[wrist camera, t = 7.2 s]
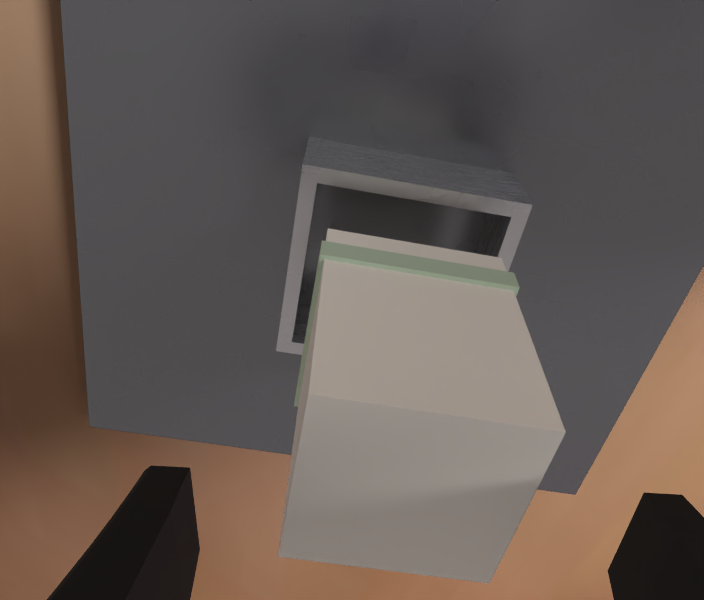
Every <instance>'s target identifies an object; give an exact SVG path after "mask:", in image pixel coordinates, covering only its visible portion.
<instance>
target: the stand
mask: <svg viewBox="0 0 704 600" xmlns="http://www.w3.org/2000/svg"><path fill="white" fill-rule="evenodd" d="M60 4H61V19H62V34H63V48H64V63H65V78H66V92H67V107H68V122H69V137H70V151H71V166H72V181H73V195H74V210H75V225H76V239H77V254H78V269H79V283H80V298H81V313H82V327H83V342H84V357H85V372H86V386H87V401H88V416H89V427H96V428H104V429H111V430H118V431H125V432H132V433H139V434H146V435H153V436H161V437H168V438H175V439H182V440H189V441H196V442H203V443H210V444H218V445H225V446H232V447H239V448H246V449H253V450H260V451H268V452H275V453H282V454H289V455H292V448H293V441H294V434H295V426H296V419H297V411H298V407H296V406H294V401H295V394H296V388H297V382H298V376H299V370H300V364H301V358H302V353H303V347H304V341H305V335H306V329H307V324H308V318H309V312H310V306H311V300H312V295H313V289H314V283H315V277H316V271H317V266H318V260H319V254H320V248H321V242H322V240H323V241H326V236H327V230H328V228H329V229H335V230H340V231H346V232H352V233H358V234H364V235H370V236H376V237H382V238H388V239H393V240H399V241H405V242H411V243H417V244H423V245H429V246H435V247H440V248H446V249H452V250H458V251H464V252H470V253H476V254H482V255H488V256H493V257H499V258H502V261H503V263H504V266H505V269H506V271H507V272H513V273H514V274H515V276H516V279H517V282H518V284H519V287H520V288H519V291H518V293H517V296H516V298H517V301H518V304H519V307H520V309H521V312H522V315H523V317H524V320H525V323H526V326H527V328H528V331H529V334H530V336H531V339H532V342H533V345H534V347H535V350H536V353H537V355H538V358H539V361H540V363H541V366H542V369H543V372H544V374H545V377H546V380H547V382H548V385H549V388H550V391H551V393H552V396H553V399H554V401H555V404H556V407H557V409H558V412H559V415H560V418H561V420H562V423H563V426H564V428H565V431H566V433H565V435H564V437H563V439H562V441H561V443H560V445H559V447H558V449H557V451H556V453H555V455H554V457H553V459H552V461H551V463H550V465H549V467H548V469H547V470H546V472H545V474H544V476H543V478H542V480H541V482H540V484H539V486H538V488H537V489H538V490H546V491H553V492H560V493H567V494H574V495H575V494H576V493H577V491H578V489H579V487H580V485H581V484H582V482H583V480H584V478H585V476H586V475H587V473H588V471H589V469H590V468H591V466H592V464H593V462H594V460H595V459H596V457H597V455H598V453H599V451H600V450H601V448H602V446H603V444H604V443H605V441H606V439H607V437H608V435H609V434H610V432H611V430H612V428H613V426H614V425H615V423H616V421H617V419H618V418H619V416H620V414H621V412H622V410H623V409H624V407H625V405H626V403H627V401H628V400H629V398H630V396H631V394H632V393H633V391H634V389H635V387H636V385H637V384H638V382H639V380H640V378H641V376H642V375H643V373H644V371H645V369H646V367H647V366H648V364H649V362H650V360H651V359H652V357H653V355H654V353H655V351H656V350H657V348H658V346H659V344H660V342H661V341H662V339H663V337H664V335H665V334H666V332H667V330H668V328H669V326H670V325H671V323H672V321H673V319H674V317H675V316H676V314H677V312H678V310H679V309H680V307H681V305H682V303H683V301H684V300H685V298H686V296H687V294H688V292H689V291H690V289H691V287H692V285H693V284H694V282H695V280H696V278H697V276H698V275H699V273H700V271H701V269H702V267H703V266H704V0H60Z"/></svg>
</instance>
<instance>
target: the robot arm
mask: <svg viewBox="0 0 704 600" xmlns="http://www.w3.org/2000/svg"><path fill="white" fill-rule="evenodd" d="M199 550H200V548H199V539H198V531H197V522H196V514H195V506H194V497H193V489H192V481H191V472H190V468H184V467H166V466H150V467H149V468H148V469H146V470H145V471H144V472H143V474H142V475H141V477H140V478H139V480H138V481H137V483H136V484H135V486H134V487H133V488H132V490H131V491H130V493H129V494H128V496H127V497H126V498H125V500H124V501H123V503H122V504H121V505H120V507H119V508H118V509H117V511H116V512H115V514H114V515H113V516H112V518H111V519H110V520H109V522H108V523H107V524H106V526H105V527H104V528H103V530H102V531H101V532H100V534H99V535H98V536H97V538H96V539H95V540H94V542H93V543H92V544H91V545H90V547H89V548H88V549H87V551H86V552H85V553H84V554H83V556H82V557H81V558H80V559H79V560H78V562H77V563H76V564H75V565H74V567H73V568H72V569H71V570H70V572H69V573H68V574H67V575H66V577H65V578H64V579H63V580H62V582H61V583H60V584H59V585H58V587H57V588H56V589H55V590H54V592H53V593H52V594H51V595H50V596H49V598H48V599H47V600H190V597H191V592H192V587H193V582H194V577H195V571H196V566H197V561H198V555H199ZM608 574H609V579H610V583H611V588H612V593H613V597H614V600H704V517H703V516H702V515H701V514H700V513H699V512H698V511H697V510H696V509H695V508H694V507H693V506H692V505H691V504H690V503H689V502H688V501H687V500H686V498H685V497H684V496H683V495H675V494H657V493H644V494H643V496H642V498H641V500H640V502H639V504H638V507H637V509H636V511H635V513H634V515H633V517H632V520H631V522H630V524H629V526H628V528H627V530H626V533H625V535H624V537H623V539H622V541H621V543H620V545H619V548H618V550H617V552H616V554H615V556H614V558H613V561H612V563H611V565H610V567H609V569H608Z"/></svg>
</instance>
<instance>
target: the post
mask: <svg viewBox="0 0 704 600" xmlns="http://www.w3.org/2000/svg"><path fill="white" fill-rule="evenodd" d="M519 288H520V287H519V284H518V282H517V279H516V276H515V274H514V273H513V272H507V271H506V269H505V266H504V263H503V261H502V258H499V257H493V256H488V255H482V254H476V253H470V252H464V251H458V250H452V249H446V248H440V247H435V246H429V245H423V244H417V243H411V242H405V241H399V240H393V239H388V238H382V237H376V236H370V235H364V234H358V233H352V232H346V231H340V230H335V229H329V228H328V230H327V236H326V241H323V240H322V242H321V248H320V254H319V260H318V266H317V271H316V277H315V283H314V289H313V295H312V300H311V306H310V312H309V318H308V324H307V329H306V335H305V341H304V347H303V353H302V358H301V364H300V370H299V376H298V382H297V388H296V394H295V401H294V406H296V407H298V411H297V419H296V426H295V434H294V441H293V448H292V456H291V463H290V471H289V478H288V486H287V493H286V501H285V508H284V516H283V523H282V531H281V538H280V546H279V553H278V557H285V558H293V559H301V560H309V561H317V562H325V563H333V564H341V565H348V566H356V567H364V568H372V569H380V570H388V571H396V572H404V573H411V574H419V575H427V576H435V577H443V578H451V579H459V580H467V581H474V582H482V583H490V581H491V579H492V577H493V575H494V573H495V571H496V569H497V567H498V565H499V563H500V561H501V559H502V557H503V555H504V553H505V551H506V550H507V548H508V546H509V544H510V542H511V540H512V538H513V536H514V534H515V532H516V530H517V528H518V526H519V524H520V522H521V520H522V518H523V516H524V514H525V512H526V510H527V508H528V506H529V504H530V502H531V500H532V498H533V496H534V494H535V492H536V490H537V488H538V486H539V484H540V482H541V480H542V478H543V476H544V474H545V472H546V470H547V469H548V467H549V465H550V463H551V461H552V459H553V457H554V455H555V453H556V451H557V449H558V447H559V445H560V443H561V441H562V439H563V437H564V435H565V433H566V431H565V428H564V426H563V423H562V420H561V418H560V415H559V412H558V409H557V407H556V404H555V401H554V399H553V396H552V393H551V391H550V388H549V385H548V382H547V380H546V377H545V374H544V372H543V369H542V366H541V363H540V361H539V358H538V355H537V353H536V350H535V347H534V345H533V342H532V339H531V336H530V334H529V331H528V328H527V326H526V323H525V320H524V317H523V315H522V312H521V309H520V307H519V304H518V301H517V298H516V296H517V293H518V291H519Z"/></svg>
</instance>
